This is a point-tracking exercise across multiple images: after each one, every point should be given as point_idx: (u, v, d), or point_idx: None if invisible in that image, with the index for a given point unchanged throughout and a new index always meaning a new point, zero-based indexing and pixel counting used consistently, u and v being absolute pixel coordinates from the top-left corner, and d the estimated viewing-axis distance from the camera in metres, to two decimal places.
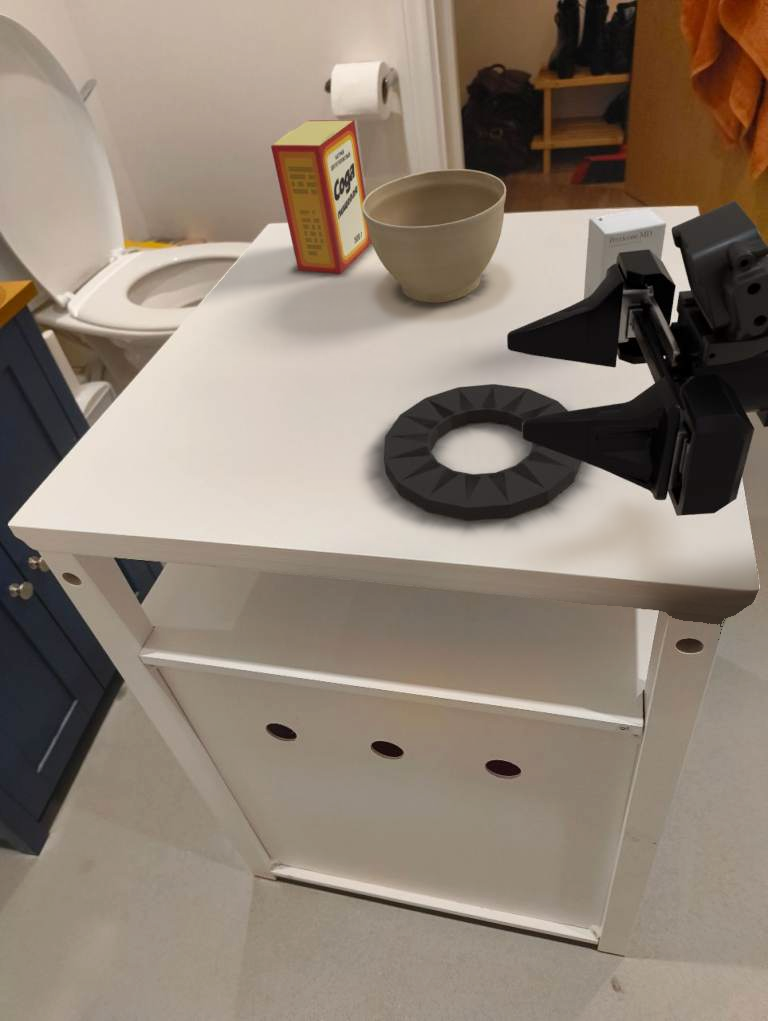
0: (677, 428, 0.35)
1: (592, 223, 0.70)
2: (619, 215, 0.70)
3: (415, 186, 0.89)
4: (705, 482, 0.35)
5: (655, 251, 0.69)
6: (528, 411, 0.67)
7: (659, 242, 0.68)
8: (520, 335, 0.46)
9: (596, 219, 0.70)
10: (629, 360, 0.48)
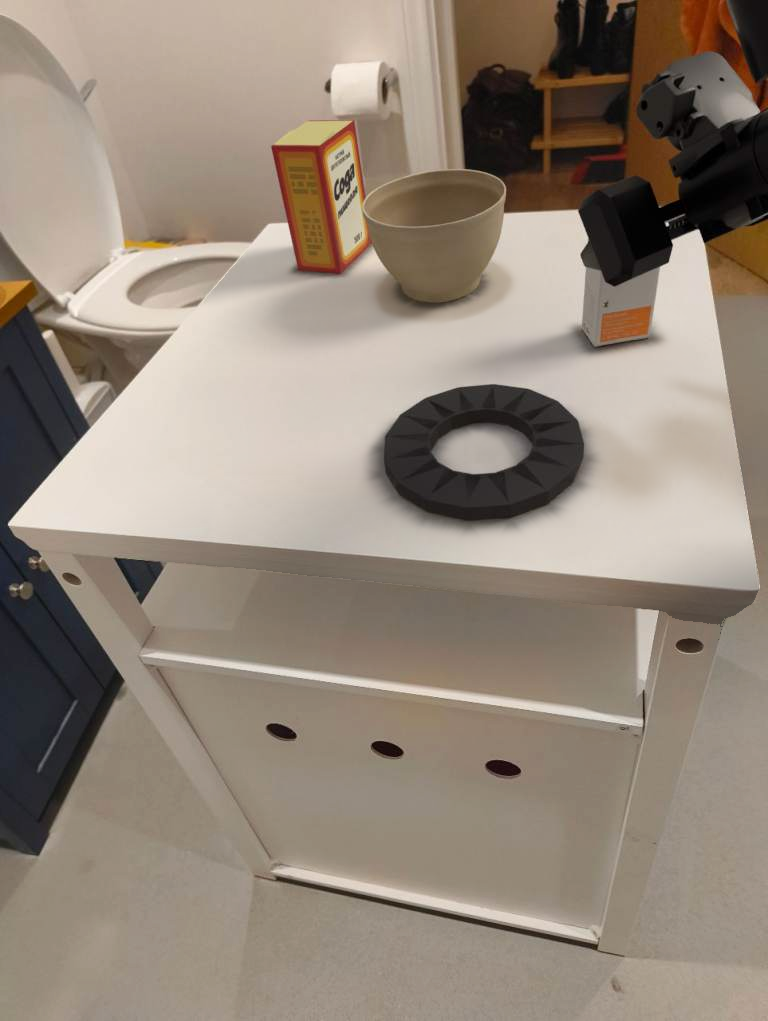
0: None
1: None
2: None
3: (415, 186, 0.89)
4: (601, 248, 0.49)
5: None
6: (528, 411, 0.67)
7: None
8: None
9: None
10: None
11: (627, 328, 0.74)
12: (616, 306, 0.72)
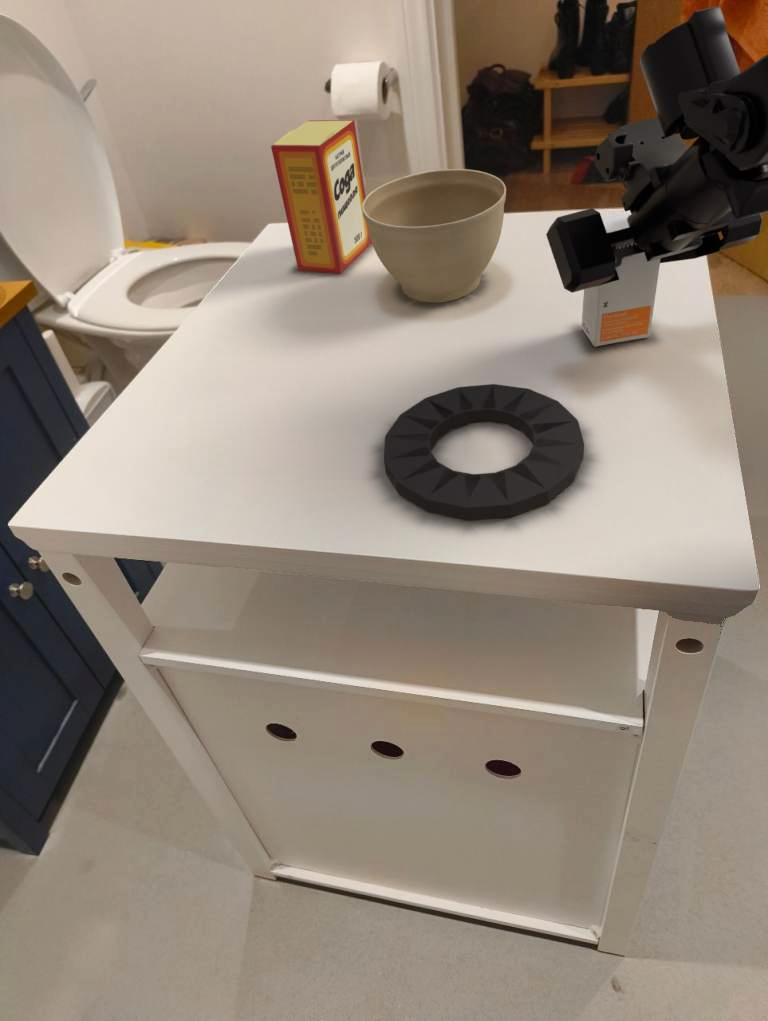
0: None
1: None
2: (618, 215, 0.70)
3: (415, 186, 0.89)
4: (560, 262, 0.64)
5: None
6: (528, 411, 0.67)
7: None
8: None
9: None
10: None
11: (626, 328, 0.74)
12: (615, 306, 0.72)
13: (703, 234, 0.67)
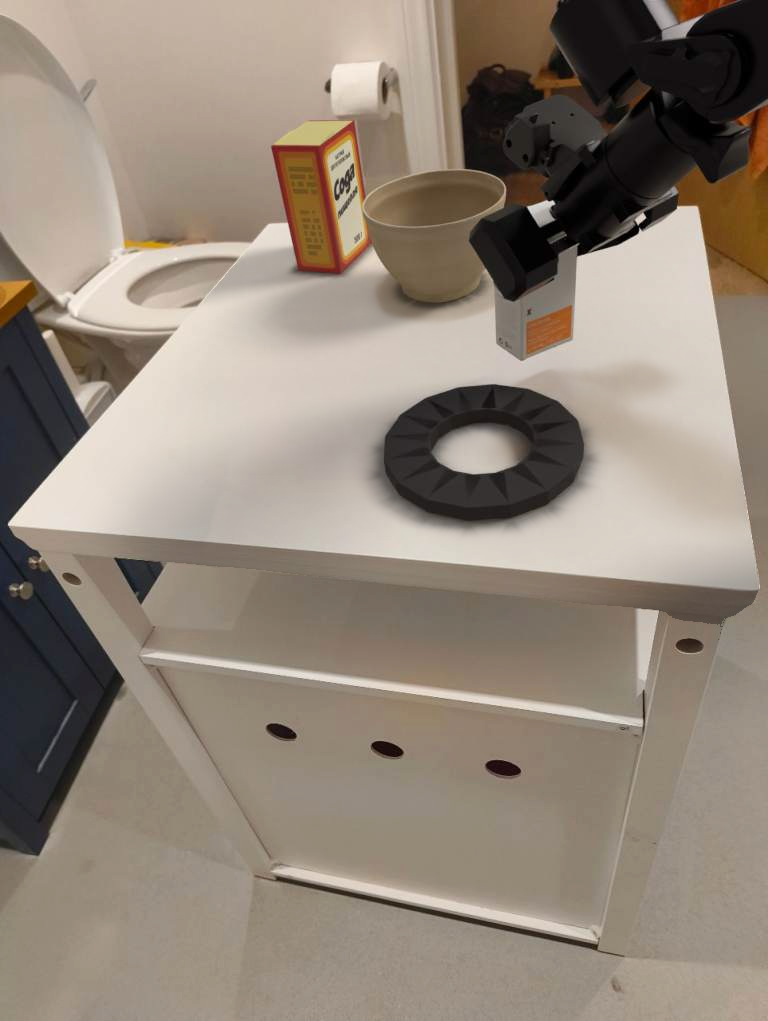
0: None
1: None
2: None
3: (415, 186, 0.89)
4: (494, 269, 0.54)
5: None
6: (528, 411, 0.67)
7: None
8: None
9: None
10: (641, 228, 0.60)
11: (551, 334, 0.66)
12: (538, 312, 0.64)
13: None
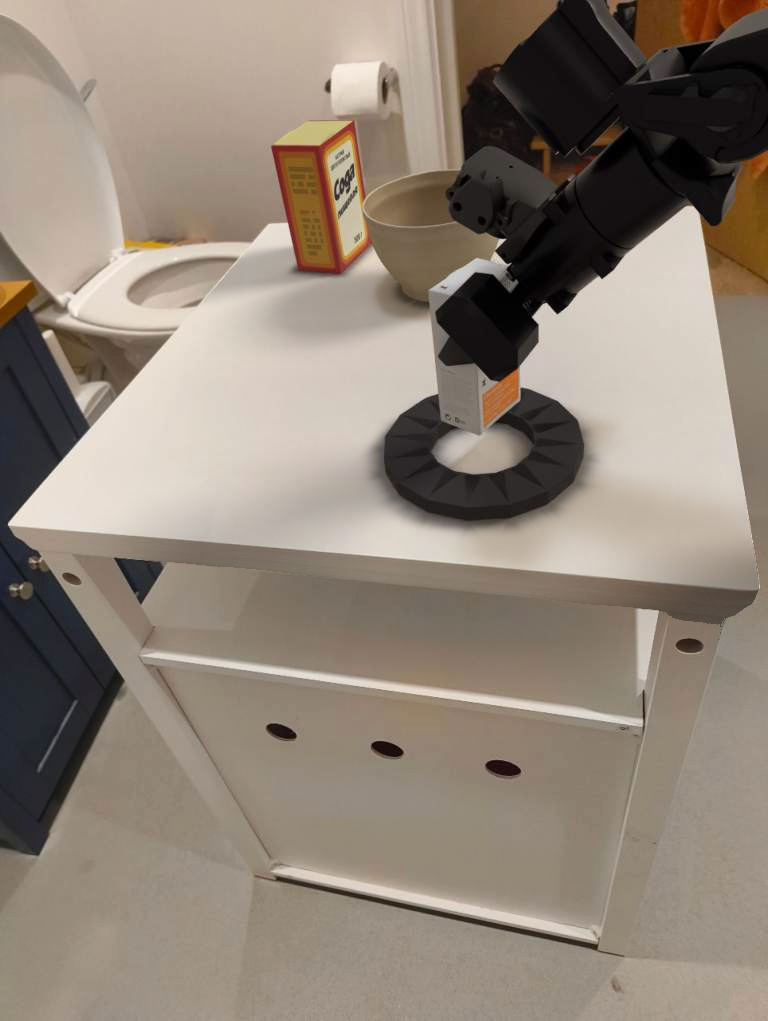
0: None
1: (437, 294, 0.54)
2: (457, 275, 0.55)
3: (415, 186, 0.89)
4: (476, 349, 0.47)
5: None
6: (528, 411, 0.67)
7: None
8: None
9: (438, 288, 0.54)
10: None
11: (503, 400, 0.60)
12: None
13: None
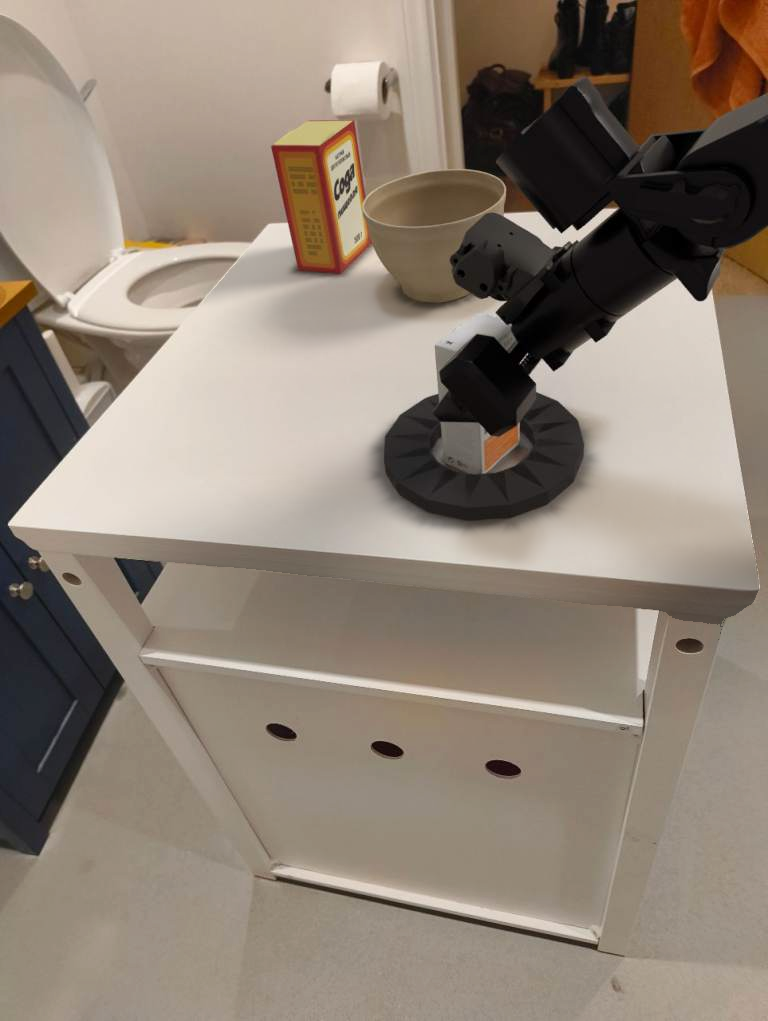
0: None
1: (443, 349, 0.57)
2: (462, 330, 0.58)
3: (415, 186, 0.89)
4: (477, 408, 0.50)
5: None
6: (528, 411, 0.67)
7: None
8: None
9: (444, 343, 0.57)
10: None
11: (503, 444, 0.63)
12: None
13: None
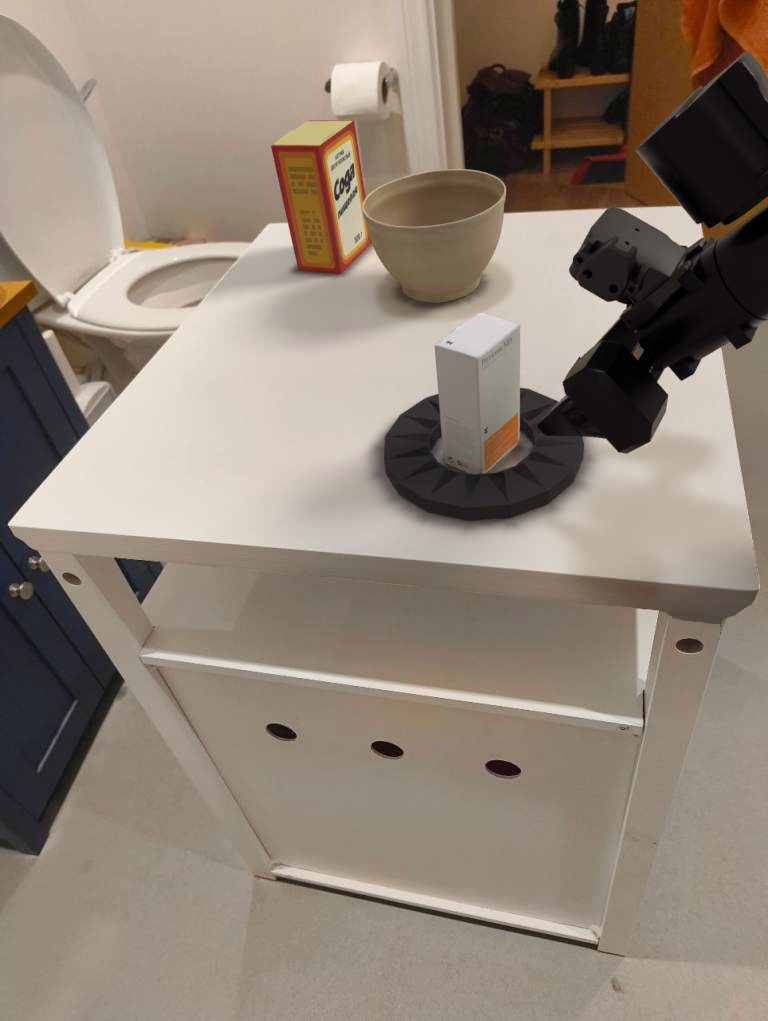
0: None
1: (443, 349, 0.57)
2: (462, 330, 0.58)
3: (415, 186, 0.89)
4: (606, 422, 0.45)
5: (516, 356, 0.59)
6: (528, 411, 0.67)
7: (517, 345, 0.59)
8: None
9: (444, 343, 0.57)
10: None
11: (503, 444, 0.63)
12: (493, 428, 0.61)
13: None
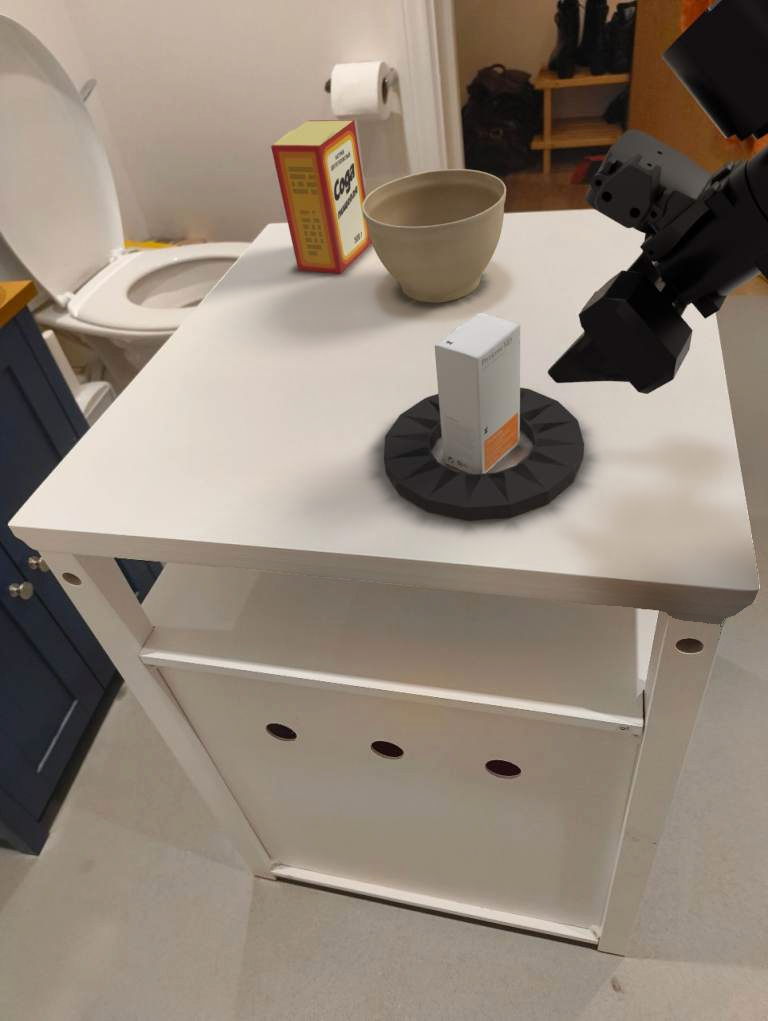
0: None
1: (443, 349, 0.57)
2: (462, 330, 0.58)
3: (415, 186, 0.89)
4: (626, 358, 0.41)
5: (516, 356, 0.59)
6: (528, 411, 0.67)
7: (517, 345, 0.59)
8: None
9: (444, 343, 0.57)
10: None
11: (503, 444, 0.63)
12: (493, 428, 0.61)
13: None
